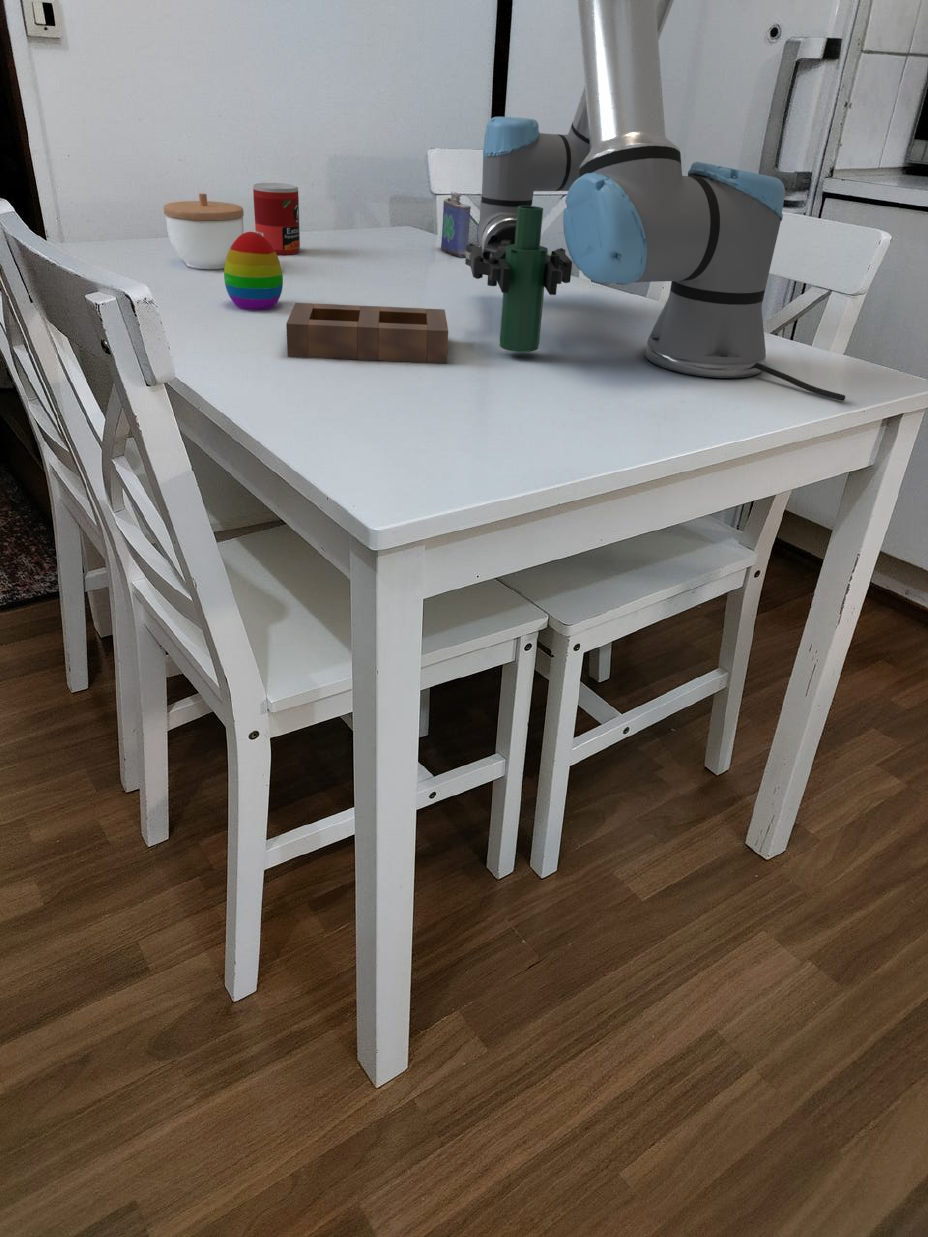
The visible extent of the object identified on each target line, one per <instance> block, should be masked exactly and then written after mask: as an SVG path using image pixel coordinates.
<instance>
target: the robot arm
mask: <svg viewBox="0 0 928 1237" xmlns="http://www.w3.org/2000/svg"><path fill="white" fill-rule="evenodd" d="M674 1H675V0H577V12H578V23H579V34H580V44H581V46H580V48H581V57H582V67H583V69H582V70H583V81H584V85H583V90H582V91H581V95H580V98H579V100H578V104H577V107H576V110H575V113H574V116H573V119H572V122H571V125H570V127H569V131H568V133H567V134H559V133H557V134H555V133H545V132H544V133H543V132H540V130H539V128H540V127H539V126H540V125H539V122H538V121H537V120H536V119H534V118H528V117H514V116H494V117H491V118H490V119H488V121H487V122H486V128H485V133H484V141H483V148H482V179H481V181H482V182H481V196H480V198H481V199H480V206H479V220H478V223H477V226H476V242H477V244H478V245H476V244H474V243H469V242H468V244H467V245H466V256H465V259H464V260H465V261H464V262H465V263H464V264H465V265H466V266H468V267H470V270H471V274H472V277H473V278H474V279H477V280H479V279H482V278H483V276H484V275H485V276H487V284H486V285H487V286H489V287H497V286H498V287H499V289H500V291H501V293H502V294H503V293H508V290H509V277H510V268H509V266H508V264H507V262H506V260H505V258H506V246H507V245H511V244H515V234H516V221H517V208H518V206H533V201H534V200H533V199H534V192H567V193H566V197H565V200H564V202H565V204H566V207H565V208H564V209H563V214H562V226H563V227H562V228H563V235H564V241H565V245H566V248H567V250H566V249H565V248H563V247H560V248H556V249H552V250H551V253H548V254H547V264H546V275H545V286H544V289H545V290H546V292H547V293H548V294H549V295H550V296H557V289H558V285H561V284H562V283H564V284H569V283H571V279H572V269H573V264H574V266H575V267H576V268H577V269H578V271H580V272H581V273H582V274H583V276H584V277H586V278H587V279H589V280H590V281H593V282H595V283H600V284H602V283H603V284H616V285H620V286H628V285H630V284H635V283H651V282H654V283H655V282H659V283H660V282H670V289H669V294H668V297H667V300H666V302H665V303H664V305H663V307H662V310H661V311H660V314H659V316H658V318H657V320H656V321H655V324H654V326H653V329H652V330H651V332H650V334H649V336H648V339H647V342H646V347H645V353H644V354H645V357H646V359H647V360H648V361H650V362H651V363H653V364H654V365H657V366H659V367H661V368H663V369H667V370H670V371H673V372H677V373H682V374H686V375H692V376H697V377H706V378H716V379H717V378H718V379H737V378H738V379H739V378H747V377H753V376H755V375H758V374H760V373H761V372H763V373H766V374H768V375H771V376H774V377H775V378H779V379H781V380H783V381H785V382H788V383H789V384H792V385H794V386H795V387H799V388H801V389H802V390H806V391H808V392H810V393H813V394H816V395H819V396H823V397H826V398H830V399H834V400H837V401H841V402H844V401H845V399H846V395H845V394H842V393H838V392H835V391H831V390H826V389H824V388H820V387H817V386H814V385H811V384H809V383H807V382H804V381H802V380H800V379H798V378H795V377H794V376H792V375H788V374H787V373H784V372H782V371H780V370H778V369H777V370H776V369H774V368H772V367H769V366H766V365H765V361H766V356H767V354H766V353H767V352H766V339H765V330H764V318H763V303H764V298H765V293H766V289H767V284H768V278H769V274H770V270H771V265H772V262H773V257H774V253H775V249H776V244H777V240H778V236H779V231H780V227H781V223H782V221H783V218H784V217H783V216H784V214H783V208H784V204H785V203H784V202H785V197H786V187H785V185H784V183H783V181H782V180H781V179H780V178H778V177H775V176H770V175H766V174H761V173H757V172H752V171H748V170H747V171H746V170H742V169H736V168H731V167H727V166H721V165H715V164H712V163H707V162H701V161H694V162H693V163H692V164H690V168H689V170H688V171H687V175H683V170H682V169H683V168H682V155H681V149H680V147H678V146H677V144H675V143H674V142H672V141H671V140H669V139H668V138H667V135H666V124H665V112H664V111H665V110H664V99H663V85H662V84H663V82H662V70H661V59H660V58H661V57H660V45H659V41H660V38H661V35H662V32H663V30H664V27H665V25H666V22H667V20H668V17H669V15H670V11H671V9H672V6H673V3H674ZM566 251H568V253H569V256H570V258H569V256H568V255H567V254H566Z"/></svg>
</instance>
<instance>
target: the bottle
mask: <svg viewBox="0 0 928 1237" xmlns="http://www.w3.org/2000/svg"><path fill="white" fill-rule="evenodd" d="M543 218H544V208H543V207H541V206H536V205H532V206H518V208H517V221H516V234H515V244H511V245H507V246H506V258H505V260H506V262H507V264H508V266H509V268H510V277H509V290H508V293H502V300H501V315H500V316H501V317H500V326H499V327H500V329H499V340H498V341H499V347H500V348H501V349H503V350H505V351H510V352H514V353H515V352H516V353H530V352H535V351H537V350H539V345H540V339H541V328H542V317H543V306H544V295H545V287H544V286H545V275H546V264H547V254H549V253H548V252H549V249H548V248H547V247H545V246H542V245H541V238H542V227H543Z"/></svg>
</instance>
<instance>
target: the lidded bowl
mask: <svg viewBox="0 0 928 1237" xmlns="http://www.w3.org/2000/svg"><path fill="white" fill-rule="evenodd" d="M207 195H208V194H207V193H204V192H203V193H198V200H184V201H174V202H169V203H166V204H164V205H163V214H164V215H165V216H164V218H165V226H166V231H167V236H168V239H169V242H170V244H171V246H172V249H173V251H174V252H175V254H177V256H178V257H179V258H180V259H181V260H182V261H183V262H184V263H185V266H186V267H189V268H192V269H197V270H222V269H223V270H224V267H225V261H226V257H227V254H228V252H229V249H230V247H231V246H232V244H233V243H234V241H235V240H236V239H237V238H238V237H239V236H240V235H242V234H243V233H244V214H245V213H244V208H243V207H242V206H241V205H238V204H236V203H230V202H223V201H211V200H210V201H209V200H208V196H207Z"/></svg>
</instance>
